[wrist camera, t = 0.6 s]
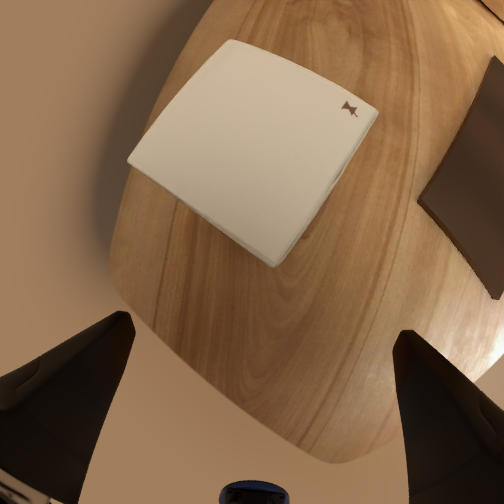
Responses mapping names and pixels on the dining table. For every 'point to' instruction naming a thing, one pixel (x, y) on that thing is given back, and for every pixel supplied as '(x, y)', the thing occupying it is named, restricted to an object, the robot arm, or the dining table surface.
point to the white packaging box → (254, 146)
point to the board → (475, 184)
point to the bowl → (496, 7)
